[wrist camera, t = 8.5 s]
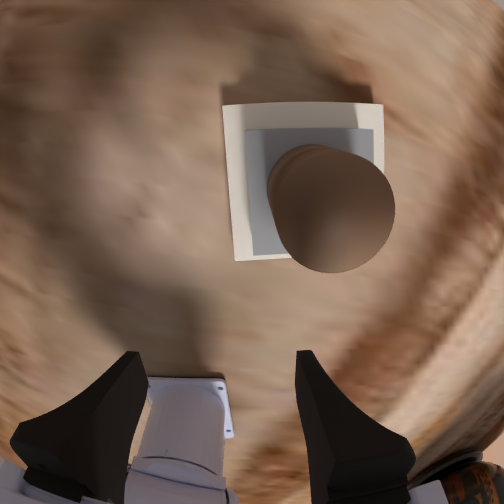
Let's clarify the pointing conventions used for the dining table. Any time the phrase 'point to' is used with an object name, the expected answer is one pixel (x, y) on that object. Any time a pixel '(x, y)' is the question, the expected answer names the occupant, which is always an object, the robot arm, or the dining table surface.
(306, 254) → the walnut cylinder
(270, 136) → the top block
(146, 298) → the dining table surface
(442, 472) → the amphora vase
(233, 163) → the base block
